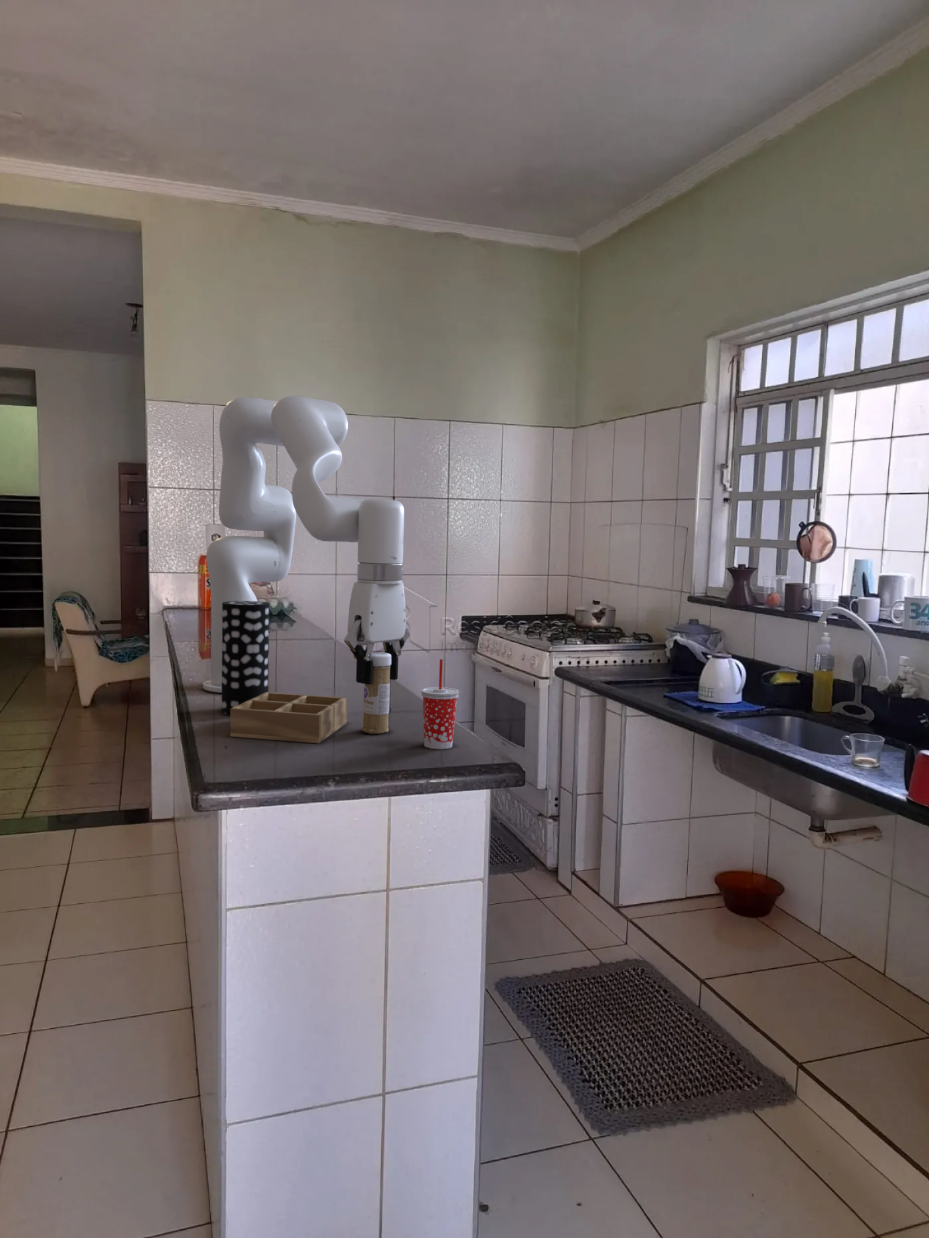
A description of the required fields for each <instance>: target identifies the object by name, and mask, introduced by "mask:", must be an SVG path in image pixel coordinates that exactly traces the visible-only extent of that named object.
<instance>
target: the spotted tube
mask: <svg viewBox="0 0 929 1238" xmlns="http://www.w3.org/2000/svg"><path fill="white" fill-rule="evenodd" d="M269 665H270V602H267V601H258V600H257V601H228V602H222V693H221V714H224V715H227V716H230V710H231V708H233V707H235V706H237V705H240V704H242V703H244V702H246V701H248V700H251V699H253V698H255V697H257V696H259V695H261V694H264V693H266V692H269V676H270V675H269V673H270V672H269V671H270V669H269V667H270V666H269Z"/></svg>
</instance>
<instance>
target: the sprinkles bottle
mask: <svg viewBox="0 0 929 1238" xmlns="http://www.w3.org/2000/svg"><path fill="white" fill-rule="evenodd" d="M370 660H372V661H373V682H372V684H369V685H368V684H364V686H363V710H362V712H363V717H362V719H363V721H362V728H361V729H362V732H364V733H365V734H370V735H380V734H385V733H388V732H389V730H390V728H389V713H390V697H391V696H390V694H391V693H390V690H391V679H390V665H391V654H389V653H385V651H384V652H383V651H382V652H381V651H372V654H371V658H370Z"/></svg>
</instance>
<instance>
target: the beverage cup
mask: <svg viewBox="0 0 929 1238" xmlns="http://www.w3.org/2000/svg"><path fill="white" fill-rule="evenodd" d="M443 665H444V660H443V659H442V658H441V659H439V672H438V673H439V674H438V678H439V679H438V686H429V687H424V688H421V691H420V693H421V697H422V710H423V711H422V715H423V719H422V720H423V746H424V747H425V748H428V749H434V750H447V749H451V748H452V747H453V744H454V734H455V733H454V732H455V722H456V715H457V714H456V712H457V702H458V698H459V697H460V696H459V694H460V690H459V689H457V688H453V687H445V686H443Z"/></svg>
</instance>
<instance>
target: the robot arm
mask: <svg viewBox="0 0 929 1238" xmlns="http://www.w3.org/2000/svg"><path fill="white" fill-rule="evenodd" d="M218 429H219V431H218V432H219V439H220V445H221V452H222V454H221V455H222V464H221V465H222V466H221V476H220V486H219V488H220V489H219V499H218V500H219V501H218V517H219V520H220V523H221V524H222V525H223V526H224V527H225V528H228V529H229V530H237V531H247V532H248V531H250V532H251V531H252V532H253V531H254V532H263V536H252V535H251V536H248V535H227V536H221V537H218V538H215V539H214V540H213V541H212V542H211V543H210V544H209V546H208V547H207V549H206V553H205V554H206V556H205V557H206V558H205V561H206V567H207V572H208V573H207V574H208V578H209V586H210V587H209V588H210V679H207V680H205V681H204V682H202V688H203V690H205V691H207V692H211V693H218V694H222V602H228V601H258V598H257V597H256V595H255V593H254V591H253V589H252V588H251V586H250V584H251V583H275V582H280V581H282V580H284V579H285V578H286V577H287V576H288V574H289V572H290V569H291V565H292V560H293V559H292V558H293V551H294V543H295V542H294V541H295V533H296V523H297V516H298V517H299V520H300V522H301V523H302V525H303V527H304V528H305V530H306V531H307V532H308V534H309V535H310V536H311V537H313V538H314V539H315V540H318V541H321V542H332V543H333V542H335V543H336V542H340V543H341V542H342V543H357V568H356V569H357V572H356V573H357V574H356V581H354V582H353V585H352V589H351V594H350V599H349V606H348V617H347V634H346V635H345V637H344V639H343V642H344V643H345V645H347V648H349V650H350V652H351V653H352V654H353V659H355V660H356V662H355V663H356V666H355V667H356V668H355V669H356V670H355V682H356V683H357V684H362V685H365V684H368V685H369V684H372V682H373V661H372V660H370V658H371V654H372V652H374V651H373V650H374V646H375V644H378V643H382V646H383V651H384V653H389V654H391V665H390V681H391V680H392V681H397V680H398V679H399V657H400V656H401V655H402V649H403V648H404V646H405V643H406V642H407V640H408V639H409V638H410V636H411V633H410V631H409V629H408V627H407V625H406V623H407V613H406V611H407V607H406V595H405V586H404V582H403V573H404V565H403V563H404V537H405V536H404V535H405V533H404V531H405V507H404V505H403V503H402V502H400V501H399V500H395V499H379V498H373V499H372V498H370V499H369V498H368V499H367V498H356V497H355V498H354V497H345V496H344V497H343V496H328V495H326V494H325V492H324V491H323V490H322V489H323V488H321V486H320V485H319V483H321V482H323V481H325V480H327V479H329V478H330V477H332V476H333V475H334V474H335V473H336V472H337V471H338V470H339V469H340V466H341V465H342V461H343V453H342V451H341V448H340V447H339V445H340V444H342V443H343V442H344V441H345V439H346V437H347V434H348V431H349V422H348V417H347V414H346V412H345V410H344V409H343V408H342V407H341V406H340V405H339V404H337V403H336V402H333V401H331V400H326V399H318V398H313V397H307V396H306V397H305V396H300V395H289V396H285V397H283V398H281V399H279V400H272V399H266V398H258V397H248V396H247V397H246V396H245V397H237V398H233V399H232V400H230V401H228V402H227V403H226V404H225V406H224V407H223V409H222V411H221V414H220V418H219V428H218ZM258 444H263V445H270V446H280V447H284V449H285V451H286V452H287V454H288V456H289V457H290V459H291V461H292V463H293V465H294V466H295V468H296V471H295V473H294V476H293V479H292V483H291V492H290V491H289V490H288V489H287V488H285V487H283V486H280V485H273V484H272V485H271V484H266V472H267V463H266V459H265V456H264V454H263V452H262V450H261V448H260V447H259V445H258ZM364 646H365V648H364Z"/></svg>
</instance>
